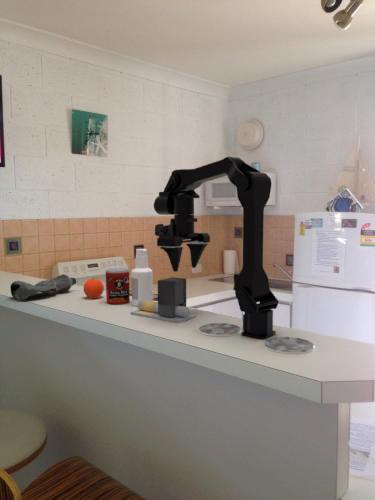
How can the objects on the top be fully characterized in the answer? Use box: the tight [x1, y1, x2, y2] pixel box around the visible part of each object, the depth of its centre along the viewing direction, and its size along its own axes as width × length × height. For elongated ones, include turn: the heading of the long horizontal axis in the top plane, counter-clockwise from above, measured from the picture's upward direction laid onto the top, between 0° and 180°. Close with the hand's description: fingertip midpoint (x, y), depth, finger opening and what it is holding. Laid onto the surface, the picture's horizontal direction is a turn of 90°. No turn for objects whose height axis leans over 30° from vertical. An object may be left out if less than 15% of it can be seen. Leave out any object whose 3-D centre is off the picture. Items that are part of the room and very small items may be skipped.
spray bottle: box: [130, 248, 154, 307], centre depth 149 cm, size 7×7×18 cm
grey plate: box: [130, 300, 197, 324], centre depth 134 cm, size 18×8×4 cm, turn 54°
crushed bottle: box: [10, 274, 77, 302], centre depth 166 cm, size 13×7×25 cm
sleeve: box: [157, 277, 187, 317], centre depth 132 cm, size 5×7×10 cm
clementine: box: [83, 277, 106, 299], centre depth 161 cm, size 8×7×7 cm
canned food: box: [105, 267, 131, 306], centre depth 153 cm, size 8×8×11 cm
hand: (184, 269), depth 132 cm, fingers open, 9 cm apart
